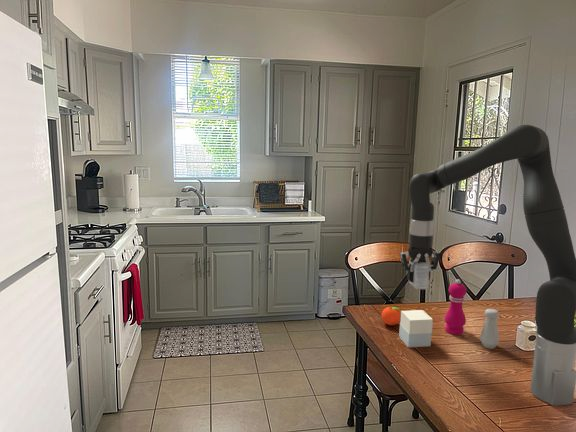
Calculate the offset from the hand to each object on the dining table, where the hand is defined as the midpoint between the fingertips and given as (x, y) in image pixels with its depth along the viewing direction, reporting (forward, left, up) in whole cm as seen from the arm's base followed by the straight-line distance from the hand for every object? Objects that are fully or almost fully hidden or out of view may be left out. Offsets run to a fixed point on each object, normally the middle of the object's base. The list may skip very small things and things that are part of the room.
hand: (418, 281), depth 138 cm
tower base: (0, 0, -22) cm, 22 cm away
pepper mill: (+6, -18, -22) cm, 29 cm away
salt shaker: (-6, -24, -22) cm, 33 cm away
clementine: (+14, +3, -22) cm, 27 cm away
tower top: (0, 0, -17) cm, 17 cm away
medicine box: (0, 0, -2) cm, 2 cm away
